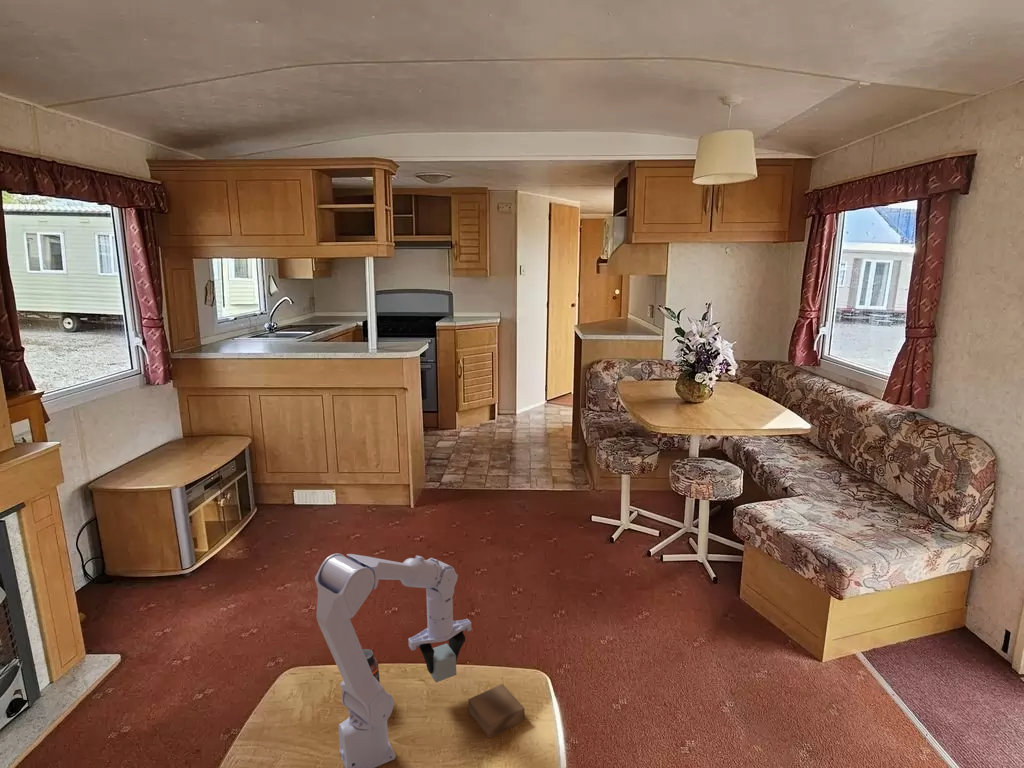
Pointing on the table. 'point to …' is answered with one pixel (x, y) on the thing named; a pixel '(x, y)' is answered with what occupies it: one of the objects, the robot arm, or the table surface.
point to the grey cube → (443, 663)
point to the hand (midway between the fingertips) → (441, 666)
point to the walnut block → (496, 710)
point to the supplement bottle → (372, 663)
